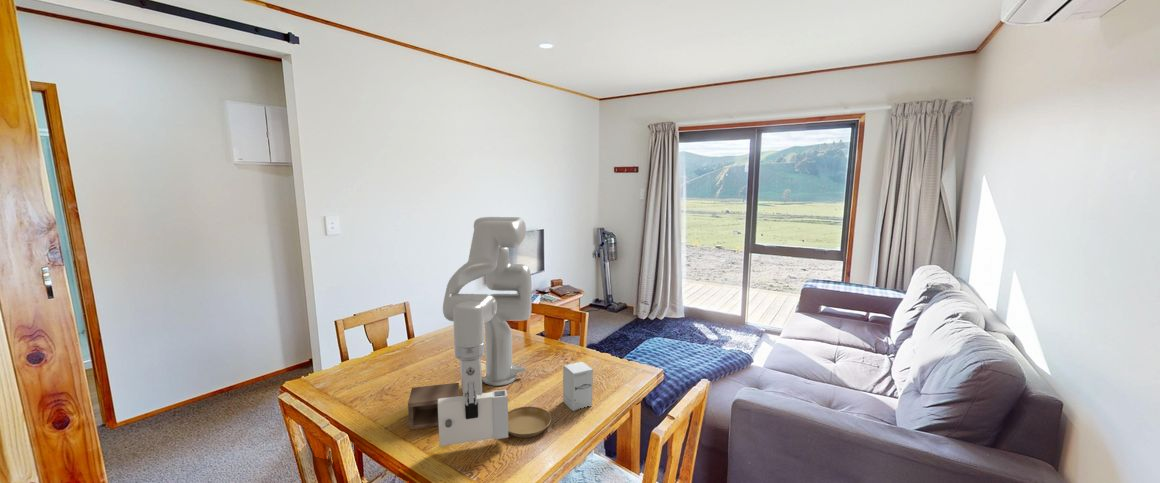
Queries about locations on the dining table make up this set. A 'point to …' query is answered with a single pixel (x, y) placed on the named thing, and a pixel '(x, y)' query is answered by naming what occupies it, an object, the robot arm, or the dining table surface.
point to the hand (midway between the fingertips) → (471, 414)
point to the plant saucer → (527, 421)
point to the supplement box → (577, 385)
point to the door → (467, 430)
